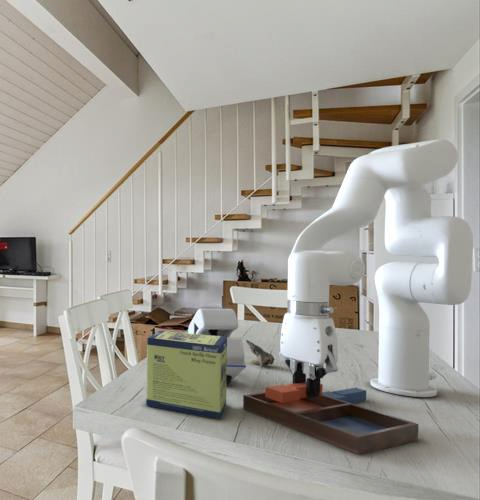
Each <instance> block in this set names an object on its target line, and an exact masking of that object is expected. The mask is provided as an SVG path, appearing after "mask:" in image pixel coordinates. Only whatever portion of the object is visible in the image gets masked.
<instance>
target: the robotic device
mask: <svg viewBox="0 0 480 500" xmlns="http://www.w3.org/2000/svg"><path fill="white" fill-rule="evenodd" d="M237 317H238V316H237V313H236V311H235V310H234V309H233V308H219V307H218V308H217V307H216V308H213V307H212V308H208V307H207V308H206V307H205V308H204V307H201V308H198V309H197V310H196V313H195V314H194V316H193V318H192V319H191V321H190V323H189V325H188V329H187V333H190V334H201V335H211V336H223V337H227V375H226V386H228V385H230V383H231V382H232V381H234V380H235V379H236V378H237V377H238V376H239V375H240V374H241V373H242V372H243V371H244V370H245V369H246V367H247V365H246V362H245V350H244V345H243V339H242V338H241V337H230V336H231V335H232V333H233V332H234V331H236V330H237V329H239V321H238V318H237Z"/></svg>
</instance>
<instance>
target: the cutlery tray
mask: <svg viewBox="0 0 480 500" xmlns="http://www.w3.org/2000/svg"><path fill="white" fill-rule="evenodd" d="M265 393H266V391H261V392H254V393H247V394H243V395H242V397H243V398H242V409H243V410H245V411H248V412H250V413H253V414H255V415H258V416H260V417H262V418H265V419H267V420H270V421H272V422H274V423H278V424H281V425H282V426H285V427H288V428H289V429H292V430H295V431H298V432H299V433H302V434H305V435H307V436H310V437H312V438H315V439H318V440H320V441H323V442H325V443H327V444H330V445H333V446H335V447H338V448H340V449H342V450H345V451H347V452H350V453H353V454H355V455H358V456H359V455H363V454H367V453H371V452H375V451H380V450H384V449H388V448H392V447H397V446H401V445H405V444H408V443H413V442H417V441H419V423H417V422H414V421H410V420H407V419H404V418H401V417H397V416H393V415H390V414H387V413H384V412H381V411H378V410H375V409H371V408H369V407H365V406H361V405H359V404H356V403H349V402H345V401H342V400H339V399H336V398H332V397H329V396H326V395H323V394H322V395H320V396H317V397H311V398H310V397H307V398H300V400H299V401H292V402H286V403H281V402H278V401H275V400H272V399H269V398H266V397H265Z"/></svg>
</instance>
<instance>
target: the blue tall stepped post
mask: <svg viewBox="0 0 480 500" xmlns="http://www.w3.org/2000/svg"><path fill="white" fill-rule="evenodd" d="M322 394H323V395H326V396H329V397H332V398H336V399H339V400H342V401H345V402H349V403H352V404H357V403H361V402H366V401H367V389H366V390H365V389H362V388H359V387H351V388H345V389H340V390H333V391H330V390H329V391H322Z"/></svg>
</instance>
